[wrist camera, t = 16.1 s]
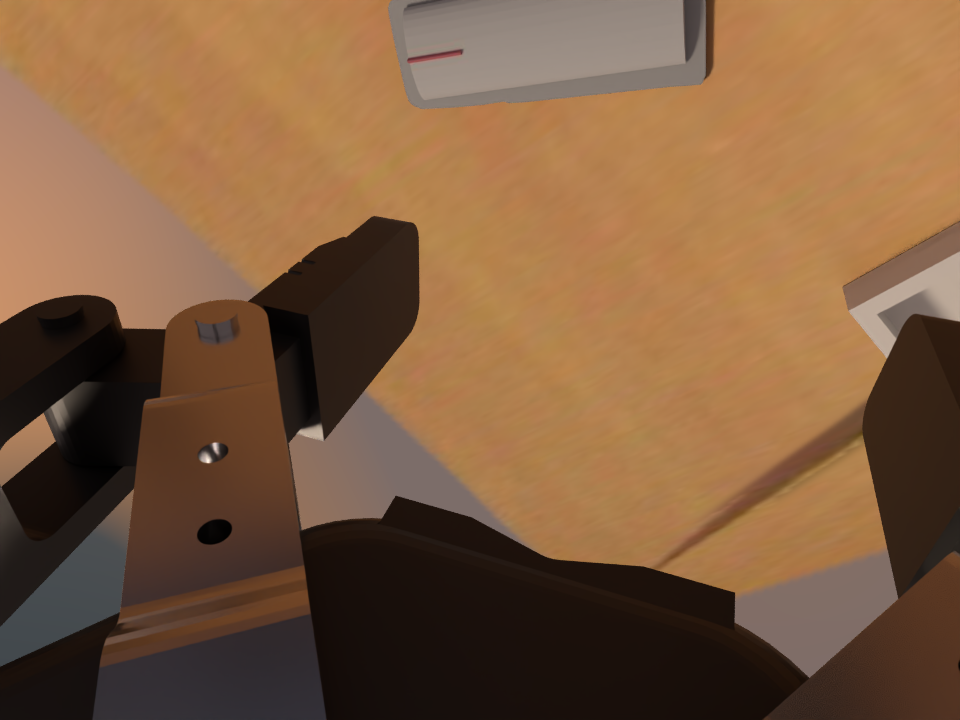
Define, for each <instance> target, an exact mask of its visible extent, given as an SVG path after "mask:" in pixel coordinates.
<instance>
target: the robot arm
mask: <svg viewBox="0 0 960 720" xmlns="http://www.w3.org/2000/svg"><path fill="white" fill-rule="evenodd" d="M418 310H419V236H418V230H417V227H416V225H415V224H414V223H411V222H405V221H400V220H394V219H388V218H383V217H377V216H373V217H371V218H370V219H368V220H367V221H366V222H365V223H364V224H362V225H361V226H360V227H359V228H357V229H356V230H355V231H354V232H352V233H351V234H350V235H349V236H348V237H342V238H339V239H336V240H334V241H331V242H328V243H326V244H323V245H321V246H318V247H317V248H316V249H314V250H313V251H312V252H310V253H309V254H308V255H307V256H305V257H304V258H303V259H302V262H298V263H296V264H295V265H294V266H293V267H291V268H290V269H289V270H288V273H284V274H282V275H281V276H280V277H278V278H277V279H276V280H275V281H273V282H272V283H271V284H270V285H268V286H267V287H266V288H264V289H263V290H262V291H261V292H259V293H258V294H257V295H255V296H254V297H253V298H252V299H250V300H249V301H248V302H247V301H242V300H216V301H209V302H205V303H201V304H198V305H195V306H192V307H190V308H187V309H185V310H183V311H182V312H180V313H178V314H177V315H176V316H174V317H173V318H172V319H171V320H170V322H169V323H168V325H167V327H166V329H122V326H121V322H120V319H119V316H118V313H117V310H116V307H115V305H114V304H113V303H112V302H111V301H109V300H107V299H105V298H102V297H98V296H91V295H73V296H65V297H59V298H54V299H50V300H47V301H44V302H41V303H38V304H35V305H33V306H31V307H29V308H27V309H25V310H23V311H21V312H19V313H18V314H16V315H14V316H13V317H11V318H9V319H8V320H6V321H4V322H3V323H1V324H0V450H1V448H2V447H3V445H4V444H5V443H6V442H7V441H8V440H9V439H10V438H11V437H13V436H14V435H15V434H16V433H18V432H19V431H20V430H21V429H23V428H24V427H25V426H27V425H28V424H29V423H31V422H32V421H33V420H34V419H36V418H37V417H38V416H40V415H41V414H42V413H44V415H45V417H46V419H47V422H48V424H49V426H50V429H51V431H52V433H53V436H54V438H55V440H56V442H54V443H53V444H52V445H51V446H50V447H48V448H47V449H46V450H45V451H44V452H42V453H41V454H40V455H39V456H38V457H37V458H35V459H34V460H33V461H32V462H31V463H29V464H28V465H27V466H26V467H25V468H23V469H22V470H21V471H20V472H19V473H17V474H16V475H15V476H14V477H13V478H11V479H10V480H9V481H8V482H7V483H5V484H4V485H3V486H2V487H1V486H0V626H1V625H2V624H3V623H4V622H5V621H6V620H7V619H8V618H9V617H10V616H11V615H12V614H13V613H14V612H15V611H16V610H17V609H18V608H19V606H21V605H22V604H23V603H24V602H25V601H26V599H27V598H28V597H29V596H30V595H31V594H32V593H33V592H34V591H35V590H36V589H37V588H38V587H39V586H40V585H41V584H42V583H43V582H44V581H45V580H46V579H47V578H48V577H49V576H50V575H51V574H52V573H53V572H54V571H55V569H56V568H57V567H58V566H59V565H60V564H61V563H62V562H63V561H64V560H65V559H66V558H67V557H68V556H69V555H70V554H71V553H72V552H73V551H74V550H75V549H76V548H77V547H78V546H79V545H80V544H81V543H82V542H83V540H84V539H85V538H86V537H87V536H88V535H89V534H90V533H91V532H92V531H93V530H94V529H95V528H96V527H97V526H98V525H99V524H100V523H101V522H102V521H103V520H104V519H105V518H106V516H108V515H109V514H110V513H111V511H113V510H114V508H115V507H116V506H117V505H118V504H119V503H120V502H121V501H122V500H123V499H124V498H125V497H126V496H127V495H128V494H129V493H130V492H131V491H132V490H133V489H134V494H133V502H132V511H131V520H130V529H129V538H128V547H127V555H126V565H125V573H124V582H123V591H122V601H121V609H120V612H119V613H117V614H115V615H113V616H111V617H108V618H107V619H104V620H102V621H100V622H97V623H95V624H93V625H91V626H89V627H86V628H84V629H82V630H80V631H78V632H75V633H73V634H71V635H69V636H67V637H65V638H62V639H60V640H58V641H56V642H53V643H51V644H49V645H47V646H45V647H43V648H41V649H38V650H36V651H34V652H32V653H30V654H27V655H25V656H23V657H21V658H18V659H16V660H14V661H12V662H10V663H7V664H5V665H3V666H1V667H0V720H960V321H955V320H949V319H943V318H938V317H932V316H927V315H921V314H913V315H911V316H910V317H909V318H908V319H907V320H906V322H905V323H904V325H903V327H902V328H901V330H900V332H899V335H898V337H897V339H896V341H895V343H894V345H893V347H892V349H891V351H890V354H889V356H888V358H887V360H886V362H885V364H884V366H883V368H882V370H881V372H880V375H879V377H878V379H877V381H876V383H875V385H874V387H873V389H872V391H871V394H870V396H869V398H868V401H867V404H866V407H865V412H864V417H863V427H862V429H863V438H864V442H865V447H866V452H867V456H868V461H869V465H870V470H871V475H872V479H873V484H874V489H875V493H876V498H877V502H878V507H879V512H880V516H881V521H882V526H883V530H884V535H885V539H886V544H887V549H888V553H889V558H890V563H891V567H892V572H893V576H894V581H895V586H896V590H897V595H898V600H897V601H896V602H895V603H893V604H892V605H891V606H890V607H889V608H888V609H887V610H885V612H883V613H882V614H881V615H880V616H879V617H878V618H876V619H875V620H874V621H873V622H872V623H871V624H870V625H869V626H867V627H866V628H865V629H864V630H863V631H862V632H861V633H860V634H859V635H858V636H856V637H855V638H854V639H853V640H852V641H851V642H850V643H848V644H847V645H846V646H845V647H844V648H843V649H842V650H841V651H839V652H838V653H837V654H836V655H835V656H834V657H833V658H831V659H830V660H829V661H828V662H827V663H826V664H825V665H824V666H823V667H821V668H820V669H819V670H818V671H817V672H816V673H815V674H814V675H812V676H811V677H810V678H809V677H808V676H807V675H806V674H805V673H804V672H802V671H801V670H800V669H799V668H798V667H797V666H796V665H795V664H794V663H793V662H792V661H791V660H789V659H788V658H787V657H786V656H784V655H783V654H782V653H780V652H779V651H778V650H777V649H775V648H774V647H773V646H771V645H770V644H769V643H767V642H765V641H764V640H763V639H761V638H760V637H758V636H756V635H755V634H753V633H752V632H750V631H749V630H747V629H745V628H744V627H742V626H740V625H738V624H736V623H734V618H735V593H734V592H731V591H727V590H724V589H720V588H717V587H713V586H710V585H706V584H703V583H699V582H696V581H692V580H689V579H685V578H682V577H678V576H675V575H671V574H668V573H664V572H661V571H657V570H654V569H650V568H647V567H643V566H630V565H617V564H604V563H591V562H578V561H565V560H555V559H551V558H547V557H545V556H543V555H540V554H539V553H537V552H535V551H533V550H531V549H529V548H527V547H526V546H524V545H522V544H520V543H518V542H516V541H514V540H513V539H511V538H509V537H507V536H505V535H503V534H501V533H500V532H498V531H496V530H494V529H492V528H490V527H488V526H486V525H485V524H483V523H481V522H479V521H477V520H475V519H474V518H472V517H468V516H465V515H461V514H458V513H454V512H451V511H447V510H444V509H440V508H437V507H433V506H429V505H426V504H423V503H419V502H416V501H412V500H409V499H405V498H402V497H398V496H395V498H394V499H393V501H392V503H391V504H390V506H389V508H388V510H387V511H386V513H385V514H384V516H383V518H382V519H378V518H363V519H349V520H342V521H334V522H330V523H325V524H321V525H317V526H314V527H311V528H307V529H304V530H302V527H301V521H300V514H299V508H298V501H297V495H296V488H295V482H294V476H293V469H292V462H291V456H290V450H289V444H288V443H289V442H290V441H291V440H292V439H293V437H294V436H295V435H296V434H299V435H303V436H307V437H310V438H314V439H317V440H321V441H324V440H325V439H326V438H327V436H328V435H329V434H330V433H331V432H332V430H333V429H334V428H335V427H336V425H337V424H338V423H339V422H340V420H341V419H342V418H343V417H344V415H345V414H346V413H347V412H348V410H349V409H350V408H351V407H352V405H353V404H354V403H355V402H356V400H357V399H358V398H359V397H360V395H361V394H362V393H363V392H364V390H365V389H366V388H367V387H368V385H369V384H370V383H371V382H372V380H373V379H374V378H375V377H376V375H377V374H378V373H379V372H380V370H381V369H382V368H383V367H384V365H385V364H386V363H387V362H388V360H389V359H390V358H391V357H392V355H393V354H394V353H395V352H396V350H397V349H398V348H399V347H400V345H401V344H402V343H403V342H404V340H405V339H406V338H407V337H408V335H409V334H410V333H411V331H412V329H413V327H414V325H415V322H416V319H417V315H418Z"/></svg>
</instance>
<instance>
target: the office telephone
mask: <svg viewBox="0 0 960 720" xmlns="http://www.w3.org/2000/svg"><path fill="white" fill-rule="evenodd" d="M388 9H389V17H390V22H391V27H392V33H393V38H394V42H395V47H396V51H397V56H398V60H399V64H400V69H401V73H402V78H403V82H404V87H405V91H406V94H407V97H408V100H409V102H410V103H411V104H412V105H414V106H415V107H419V108H420V109H432V108H451V107H464V106H475V105H485V104H491V103H498V102H507V103H519V102H531V101H540V100H550V99H559V98H569V97H578V96H588V95H597V94H607V93H616V92H625V91H635V90H644V89H654V88H663V87H674V86H688V85H701V84H702V83H703V80H704V77H705V76H706V0H392V1H391V2H390V3H389V7H388Z"/></svg>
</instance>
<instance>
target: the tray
mask: <svg viewBox="0 0 960 720" xmlns="http://www.w3.org/2000/svg"><path fill="white" fill-rule="evenodd" d="M843 291H844V295H845V299H846V303H847V307H848V311H849V312H850V313H851V315H852V316H853V317H854V318H855V320H856V321H857V322H858V323H859V325H860V326H861V327H862V328H863V329H864V331H865V332H866V333H867V334H868V336H869V337H870V338H871V339H872V340H873V342H874V343H875V344H876V345H877V347H878V348H879V349H880V350H881V352H882V353H883V354H884V355H885V356H886V358H888V356H889V354H890V351H891V349H892V347H893V345H894V343H895V341H896V339H897V337H898V335H899V332H900V330H901V328H902V327H903V325H904V323H905V322H906V320H907V319H908V318H909V317H910V316H911V315H913V314H921V315H927V316H932V317H938V318H943V319H949V320H955V321H960V222H958V223H956V224H954V225H953V226H951V227H949V228H947V229H945V230H944V231H942V232H940V233H938V234H937V235H935V236H933V237H931V238H929V239H928V240H926V241H924V242H922V243H920V244H919V245H917V246H915V247H913V248H911V249H910V250H908V251H906V252H904V253H903V254H901V255H899V256H897V257H895V258H894V259H892V260H890V261H888V262H886V263H885V264H883V265H881V266H879V267H878V268H876V269H874V270H872V271H870V272H869V273H867V274H865V275H863V276H861V277H860V278H858V279H856V280H854V281H852V282H851V283H849V284H847V285H845V286H844V287H843Z"/></svg>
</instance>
